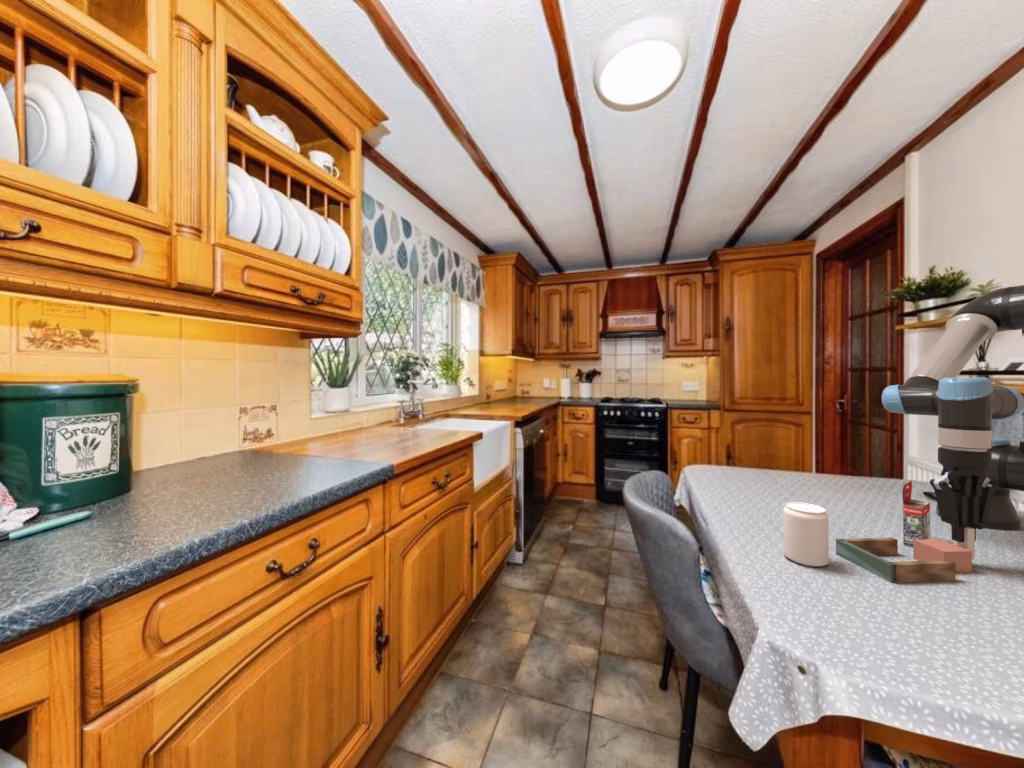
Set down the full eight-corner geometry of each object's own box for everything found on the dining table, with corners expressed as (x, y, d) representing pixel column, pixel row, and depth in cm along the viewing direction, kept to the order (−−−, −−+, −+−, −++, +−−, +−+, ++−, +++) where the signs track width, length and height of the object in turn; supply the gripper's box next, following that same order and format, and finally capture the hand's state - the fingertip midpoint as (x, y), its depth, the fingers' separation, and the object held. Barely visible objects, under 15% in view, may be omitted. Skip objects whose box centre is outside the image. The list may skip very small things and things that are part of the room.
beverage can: (819, 554, 88) (819, 503, 88) (835, 571, 81) (835, 514, 81) (778, 549, 91) (778, 499, 91) (790, 565, 83) (790, 511, 83)
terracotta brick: (939, 558, 86) (939, 539, 86) (971, 572, 80) (971, 551, 80) (913, 559, 86) (913, 539, 86) (944, 573, 80) (944, 551, 80)
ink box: (931, 541, 94) (931, 483, 94) (923, 550, 90) (923, 488, 90) (910, 536, 97) (910, 479, 97) (902, 544, 93) (901, 485, 93)
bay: (892, 552, 89) (892, 537, 89) (955, 580, 76) (955, 563, 76) (835, 554, 88) (835, 539, 88) (890, 582, 76) (890, 565, 76)
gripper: (971, 444, 87) (970, 548, 87) (915, 445, 86) (915, 549, 86) (1015, 450, 79) (1015, 563, 79) (955, 451, 79) (955, 565, 79)
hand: (963, 556), depth 83 cm, fingers closed
